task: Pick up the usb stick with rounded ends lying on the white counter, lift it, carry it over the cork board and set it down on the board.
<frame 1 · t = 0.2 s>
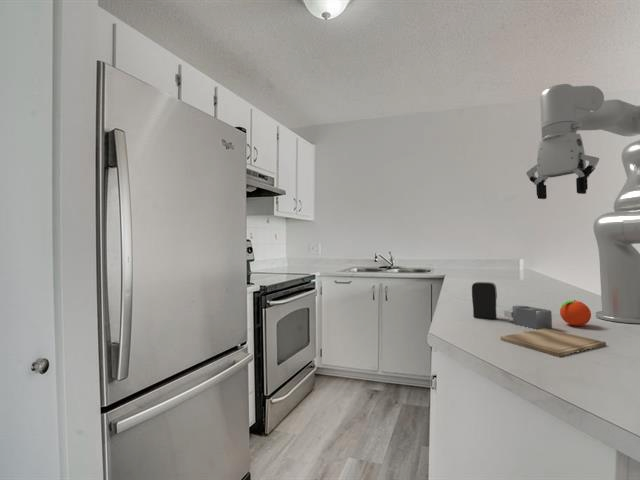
hand: (560, 196, 89), 36 cm above the counter, tool pointing down, fingers open, 9 cm apart
battery charger: (485, 318, 106), on the counter
board: (550, 342, 79), on the counter
usb stick: (531, 326, 93), on the counter
clementine: (574, 326, 92), on the counter
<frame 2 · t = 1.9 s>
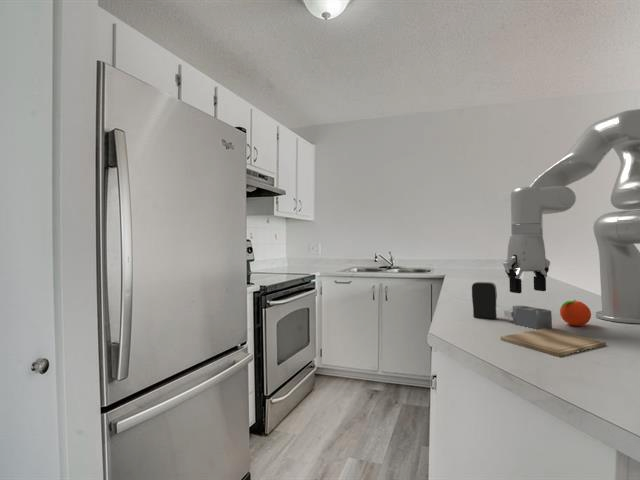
hand: (527, 291, 94), 10 cm above the counter, tool pointing down, fingers open, 9 cm apart
nothing on the counter moved.
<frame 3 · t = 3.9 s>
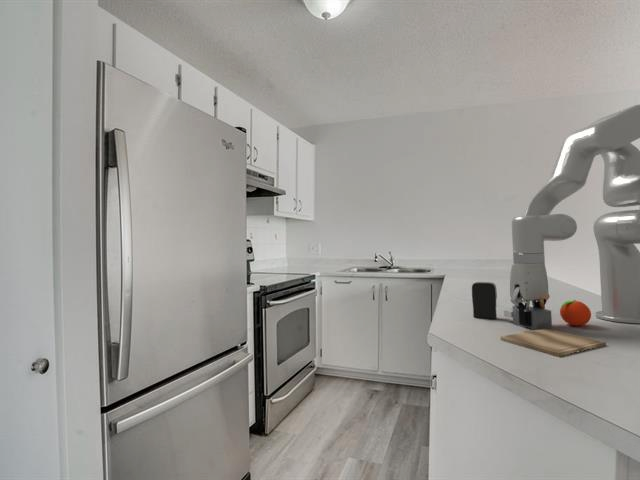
hand: (531, 323, 94), 1 cm above the counter, tool pointing down, fingers closed on usb stick, 4 cm apart
usb stick: (531, 326, 93), on the counter, touching gripper
everything else where it was.
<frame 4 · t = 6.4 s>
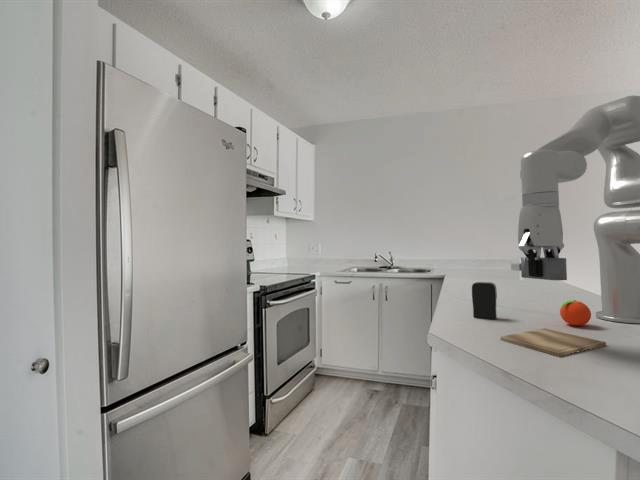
hand: (543, 275, 81), 16 cm above the counter, tool pointing down, fingers closed on usb stick, 4 cm apart
usb stick: (543, 278, 81), point 15 cm above the counter, touching gripper
everything else where it was.
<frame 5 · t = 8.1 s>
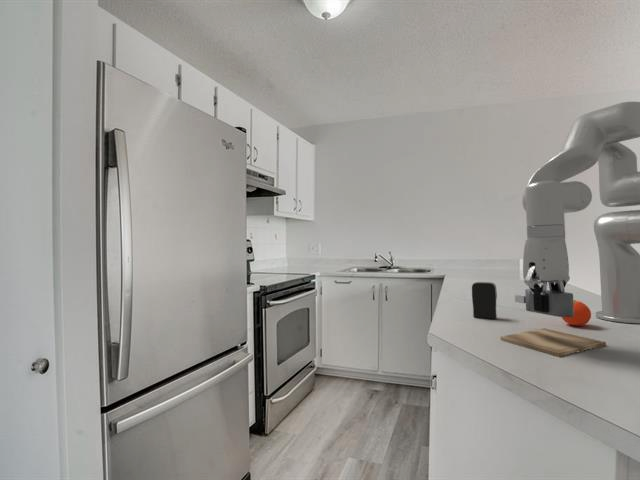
hand: (548, 309, 79), 8 cm above the counter, tool pointing down, fingers closed on usb stick, 4 cm apart
usb stick: (548, 312, 79), point 7 cm above the counter, touching gripper
everything else where it was.
when the fingers open (3 cm above the counter, at t = 9.4 s): usb stick stays where it is, resting on board.
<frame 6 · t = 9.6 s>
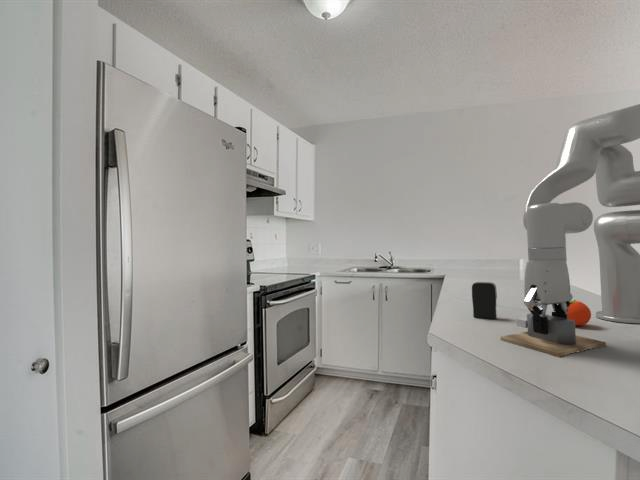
hand: (550, 330, 79), 3 cm above the counter, tool pointing down, fingers open, 6 cm apart
usb stick: (550, 338, 79), point 1 cm above the counter, touching board
everything else where it was.
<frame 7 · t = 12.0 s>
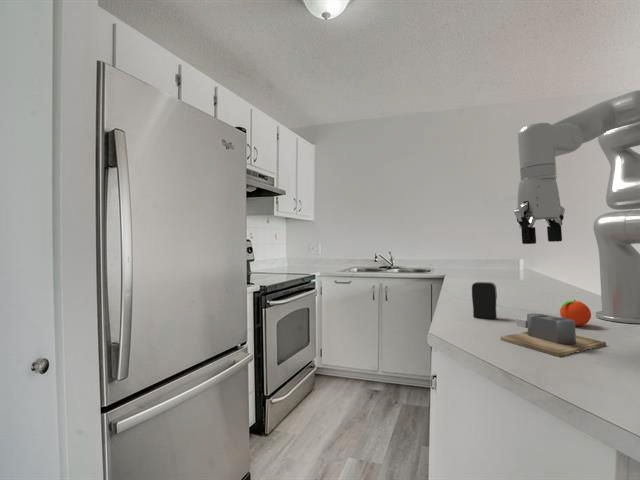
hand: (542, 242, 83), 24 cm above the counter, tool pointing down, fingers open, 9 cm apart
nothing on the counter moved.
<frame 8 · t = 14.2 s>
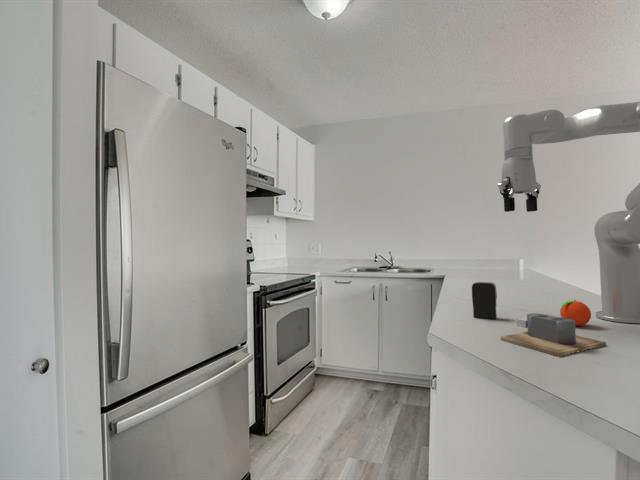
hand: (520, 211, 103), 33 cm above the counter, tool pointing down, fingers open, 9 cm apart
nothing on the counter moved.
at the end: usb stick inside the target area on the board (0.0 cm from its centre), point 0.9 cm above the board's base; usb stick tilted 0°; the gripper is holding nothing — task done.
